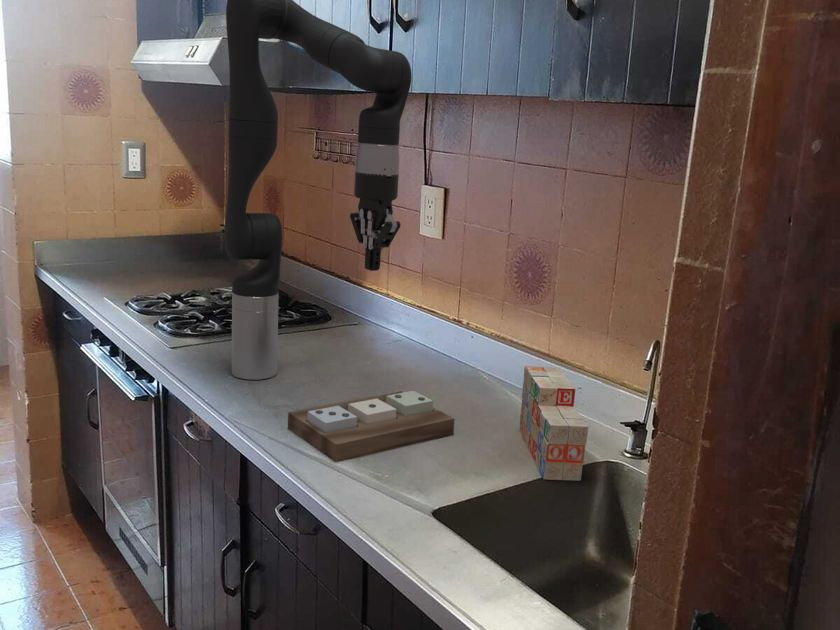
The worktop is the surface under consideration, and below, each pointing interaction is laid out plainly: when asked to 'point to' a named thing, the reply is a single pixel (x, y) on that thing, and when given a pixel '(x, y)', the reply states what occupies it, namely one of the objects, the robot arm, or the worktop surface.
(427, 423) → the key panel
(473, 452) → the worktop surface
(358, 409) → the key
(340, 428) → the key
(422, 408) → the key
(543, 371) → the stack of blocks
